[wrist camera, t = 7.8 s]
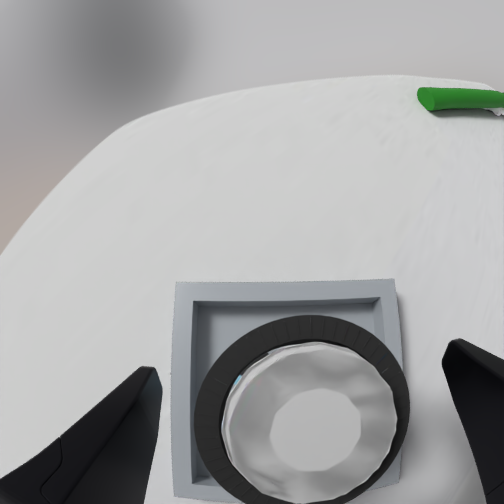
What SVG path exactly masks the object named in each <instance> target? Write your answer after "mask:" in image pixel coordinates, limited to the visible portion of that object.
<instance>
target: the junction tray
mask: <svg viewBox="0 0 504 504" xmlns="http://www.w3.org/2000/svg"><path fill="white" fill-rule="evenodd" d="M298 315H323V316H331V317H335V318H340V319H343V320H346V321H349V322H352V323H354V324H356V325H358V326H360V327H362V328H364V329H366V330H367V331H369V332H371V333H372V334H373V335H374V336H376V337H377V338H378V339H379V340H380V341H382V342H383V343H384V344H385V345H386V346H387V348H388V349H389V350H390V351H391V352H392V354H393V355H394V357H395V358H396V360H397V361H398V363H399V365H400V367H401V369H402V371H403V362H402V346H401V333H400V322H399V313H398V304H397V296H396V289H395V282H394V279H375V280H346V281H308V282H176V288H175V301H174V316H173V334H172V358H171V452H172V473H173V489H174V496H175V497H181V498H189V499H197V500H207V501H219V502H238V503H244V502H242V501H240V500H238V499H237V498H235V497H234V496H232V495H231V494H230V493H228V492H227V491H226V490H225V489H223V488H222V487H221V486H220V485H219V484H218V483H217V481H216V480H215V479H214V478H213V477H212V476H211V474H210V473H209V471H208V470H207V468H206V467H205V465H204V463H203V461H202V459H201V456H200V454H199V451H198V448H197V444H196V439H195V433H194V411H195V405H196V400H197V397H198V393H199V390H200V388H201V385H202V383H203V381H204V379H205V377H206V375H207V373H208V371H209V370H210V368H211V367H212V365H213V364H214V363H215V361H216V360H217V359H218V358H219V357H220V355H221V354H222V353H223V352H224V351H225V350H226V349H227V348H228V347H229V346H230V345H231V344H233V343H234V342H235V341H236V340H238V339H239V338H240V337H242V336H243V335H245V334H247V333H248V332H250V331H251V330H253V329H255V328H257V327H259V326H261V325H264V324H266V323H269V322H271V321H274V320H278V319H282V318H286V317H291V316H298ZM296 345H298V344H296ZM288 346H292V345H288ZM284 347H286V346H284ZM280 348H283V347H280ZM280 348H277V349H280ZM277 349H274V350H271V351H269V352H267V353H269V354H271V353H273V352H274V351H276V350H277ZM234 387H235V384H233V386H232V389H233V388H234ZM232 389H231V391H232ZM231 391H230V392H231ZM229 394H230V393H229ZM401 453H402V446H401V448H400V450H399V452H398V454H397V456H396V458H395V459H394V461H393V462H392V464H391V465H390V467H389V468H388V470H387V471H386V472H385V473H384V474H383V475H382V476H381V478H380V479H379V480H378V481H376V482H375V483H374V484H373V485H372V486H371V487H370V488H368V489H367V490H366V491H368V490H372V489H376V488H380V487H384V486H388V485H392V484H395V483H399V475H400V465H401Z"/></svg>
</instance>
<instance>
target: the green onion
mask: <svg viewBox="0 0 504 504" xmlns="http://www.w3.org/2000/svg"><path fill="white" fill-rule="evenodd" d="M417 96H418V100H419V102H420V103H421V104H422V105H423V106H424V107H425V108H426V110H442V109H452V108H484V109H485V110H488V109H489V110H491V111H493V112H494V114H495V115H497V116H500V115H501V114H502V115H504V93H501V92H498V91H492V90H480V89H464V88H432V87H422V88H419V89H418V91H417Z"/></svg>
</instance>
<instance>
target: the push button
mask: <svg viewBox="0 0 504 504" xmlns="http://www.w3.org/2000/svg"><path fill="white" fill-rule="evenodd" d="M296 344H298V345H296ZM288 345H292V346H288ZM284 346H286V347H284ZM280 347H283V348H280ZM277 348H280V349H277ZM274 349H277V350H276V351H274V352H273V353H271V354H269V353H267V352H269V351H271V350H274ZM233 384H235V387H234V388H233V389H232V386H233ZM231 389H232V391H231ZM230 391H231V392H230ZM229 393H230V394H229ZM409 414H410V399H409V391H408V387H407V383H406V379H405V376H404V374H403V371H402V369H401V367H400V365H399V363H398V361H397V360H396V358H395V357H394V355H393V354H392V352H391V351H390V350H389V349H388V348H387V346H386V345H385V344H384V343H383V342H382V341H380V340H379V339H378V338H377V337H376V336H374V335H373V334H372V333H371V332H369V331H367V330H366V329H364V328H362V327H360V326H358V325H356V324H354V323H352V322H349V321H346V320H343V319H340V318H335V317H331V316H323V315H298V316H291V317H286V318H282V319H278V320H274V321H271V322H269V323H266V324H264V325H261V326H259V327H257V328H255V329H253V330H251V331H250V332H248V333H247V334H245V335H243V336H242V337H240V338H239V339H238V340H236V341H235V342H234V343H233V344H231V345H230V346H229V347H228V348H227V349H226V350H225V351H224V352H223V353H222V354H221V355H220V357H219V358H218V359H217V360H216V361H215V363H214V364H213V365H212V367H211V368H210V370H209V371H208V373H207V375H206V377H205V379H204V381H203V383H202V385H201V388H200V390H199V393H198V397H197V400H196V405H195V411H194V433H195V439H196V444H197V448H198V451H199V454H200V456H201V459H202V461H203V463H204V465H205V467H206V468H207V470H208V471H209V473H210V474H211V476H212V477H213V478H214V479H215V480H216V481H217V483H218V484H219V485H220V486H221V487H222V488H223V489H225V490H226V491H227V492H228V493H230V494H231V495H232V496H234V497H235V498H237V499H238V500H240V501H242V502H244V503H245V504H344V503H346V502H348V501H350V500H352V499H354V498H356V497H357V496H359V495H360V494H362V493H363V492H365V491H366V490H367V489H368V488H370V487H371V486H372V485H373V484H374V483H375V482H376V481H378V480H379V479H380V478H381V476H382V475H383V474H384V473H385V472H386V471H387V470H388V468H389V467H390V465H391V464H392V462H393V461H394V459H395V458H396V456H397V454H398V452H399V450H400V448H401V446H402V444H403V441H404V438H405V435H406V432H407V427H408V423H409Z"/></svg>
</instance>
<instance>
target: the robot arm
mask: <svg viewBox="0 0 504 504" xmlns="http://www.w3.org/2000/svg"><path fill="white" fill-rule="evenodd" d="M442 368H443V371H444V373H445V376H446V379H447V383H448V386H449V389H450V392H451V395H452V398H453V402H454V404H455V407H456V409H457V412H458V414H459V417H460V420H461V422H462V425H463V427H464V430H465V433H466V436H467V438H468V441H469V444H470V447H471V450H472V453H473V456H474V459H475V462H476V465H477V469H478V472H479V475H480V479H481V482H482V486H483V490H484V494H485V499H486V503H487V504H504V360H503V359H501V358H499V357H497V356H495V355H493V354H491V353H489V352H487V351H485V350H483V349H481V348H479V347H477V346H475V345H473V344H471V343H469V342H467V341H465V340H463V339H460V338H459V339H455V340H452V341H450V342H449V344H448V346H447V349H446V351H445V354H444V356H443V358H442ZM162 392H163V391H162V385H161V382H160V379H159V376H158V373H157V371H156V369H155V368H154V367H147V366H141V367H139V368H138V369H137V370H136V371H135V372H134V373H132V374H131V375H130V376H129V377H128V378H127V379H126V380H124V381H123V382H122V383H121V384H120V385H119V386H118V387H116V388H115V389H114V390H113V391H112V392H111V393H110V394H108V395H107V396H106V397H105V398H104V399H103V400H101V401H100V402H99V403H98V404H97V405H96V406H95V407H93V408H92V409H91V410H90V411H89V412H88V413H86V414H85V415H84V416H83V417H82V418H81V419H79V420H78V421H77V422H76V423H75V424H74V425H72V426H71V427H70V428H69V429H68V430H67V431H65V432H64V433H63V434H62V435H61V436H60V437H58V438H57V439H56V440H55V441H54V442H52V443H51V444H50V445H49V446H48V447H46V448H45V449H44V450H42V451H41V452H40V453H39V454H37V455H36V456H34V457H33V458H32V459H30V460H29V461H27V462H26V463H24V464H23V465H21V466H20V467H18V468H17V469H15V470H13V471H12V472H10V473H9V474H7V475H6V476H4V477H2V478H1V479H0V504H144V500H145V494H146V489H147V484H148V480H149V475H150V470H151V465H152V461H153V456H154V452H155V447H156V443H157V437H158V429H159V420H160V410H161V402H162Z"/></svg>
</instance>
